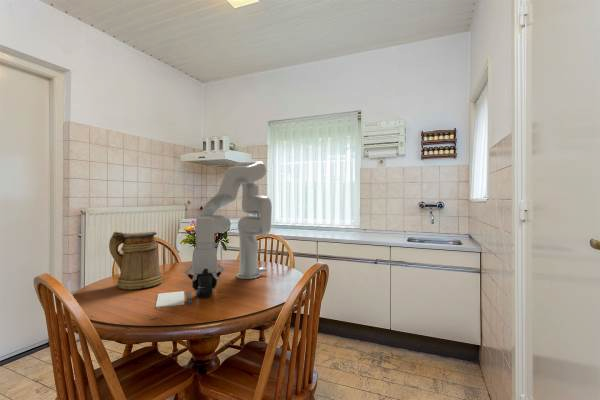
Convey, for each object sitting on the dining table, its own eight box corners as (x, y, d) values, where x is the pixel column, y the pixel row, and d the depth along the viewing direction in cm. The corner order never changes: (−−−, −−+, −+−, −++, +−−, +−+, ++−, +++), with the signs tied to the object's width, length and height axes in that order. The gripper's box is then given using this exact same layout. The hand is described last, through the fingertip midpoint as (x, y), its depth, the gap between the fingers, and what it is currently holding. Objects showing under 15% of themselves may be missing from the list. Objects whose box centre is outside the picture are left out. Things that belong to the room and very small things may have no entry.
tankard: (155, 289, 131) (156, 233, 131) (97, 291, 128) (98, 234, 128) (167, 278, 149) (167, 229, 149) (117, 280, 146) (117, 229, 146)
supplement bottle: (197, 299, 119) (197, 269, 119) (194, 294, 125) (195, 266, 125) (214, 297, 122) (214, 268, 122) (211, 292, 128) (211, 264, 128)
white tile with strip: (190, 291, 129) (190, 290, 129) (192, 303, 114) (192, 302, 114) (158, 294, 124) (158, 293, 124) (155, 307, 109) (155, 306, 109)
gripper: (224, 243, 130) (224, 284, 130) (182, 245, 124) (182, 288, 124) (227, 246, 123) (227, 289, 123) (182, 248, 117) (182, 293, 117)
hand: (204, 288), depth 124 cm, fingers closed on supplement bottle, 6 cm apart
